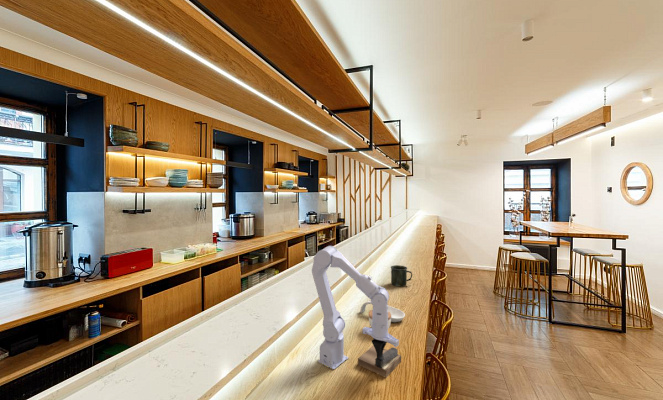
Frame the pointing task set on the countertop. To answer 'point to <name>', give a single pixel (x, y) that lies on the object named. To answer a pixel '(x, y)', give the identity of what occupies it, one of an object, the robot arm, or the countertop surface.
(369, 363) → the stool seat
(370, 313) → the lidded jar
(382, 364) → the folding leg
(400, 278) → the mug
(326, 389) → the countertop surface
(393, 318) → the spoon rest
